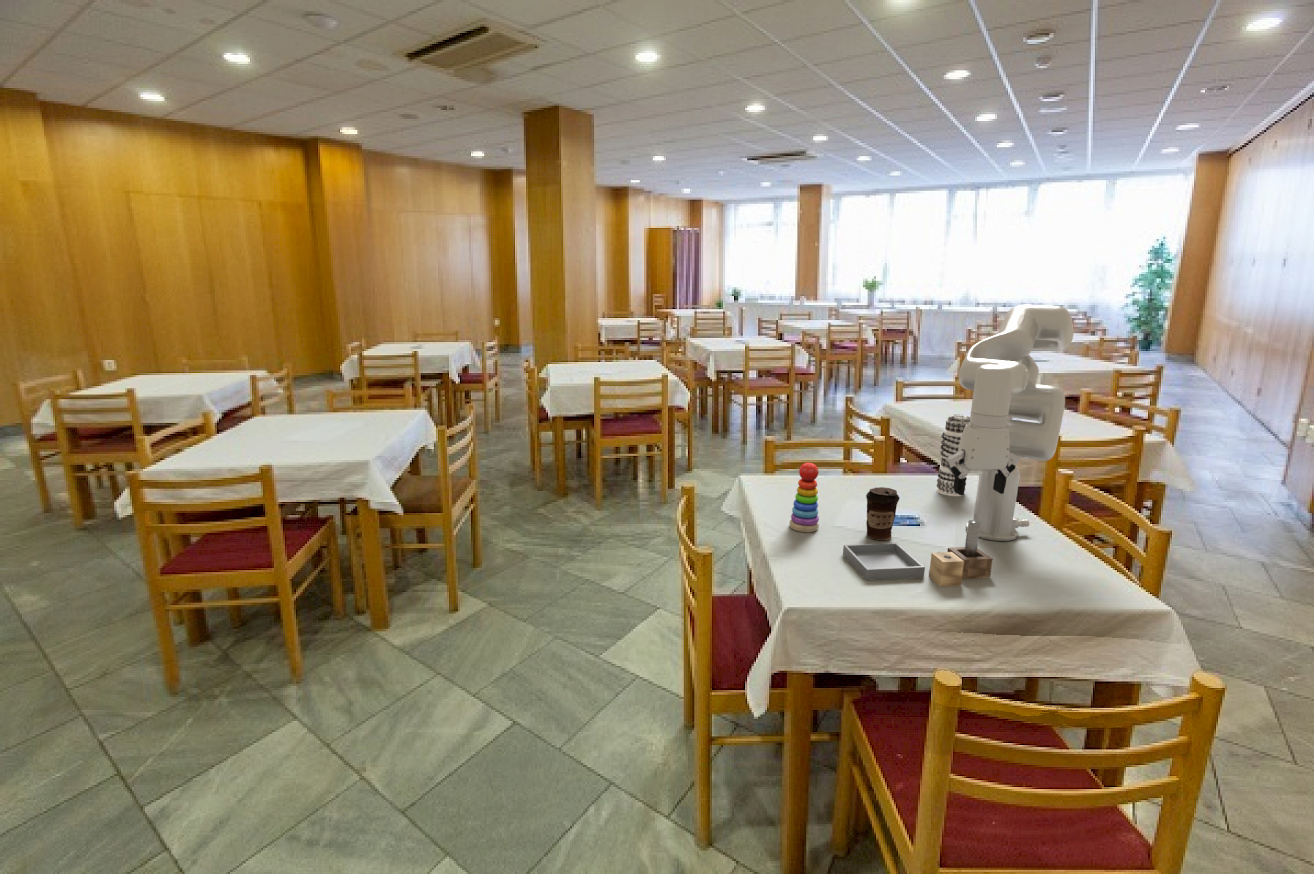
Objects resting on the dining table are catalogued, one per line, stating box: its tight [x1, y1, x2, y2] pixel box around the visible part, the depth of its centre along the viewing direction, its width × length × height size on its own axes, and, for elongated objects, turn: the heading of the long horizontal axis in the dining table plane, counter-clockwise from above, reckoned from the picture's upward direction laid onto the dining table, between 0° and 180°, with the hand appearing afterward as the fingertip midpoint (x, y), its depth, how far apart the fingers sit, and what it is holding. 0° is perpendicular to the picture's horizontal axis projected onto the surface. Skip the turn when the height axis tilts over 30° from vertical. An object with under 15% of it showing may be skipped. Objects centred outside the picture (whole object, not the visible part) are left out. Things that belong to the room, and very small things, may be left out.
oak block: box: [928, 551, 964, 587], centre depth 152 cm, size 5×5×6 cm
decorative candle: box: [935, 414, 970, 497], centre depth 211 cm, size 9×9×25 cm
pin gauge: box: [964, 519, 981, 557], centre depth 156 cm, size 3×3×12 cm
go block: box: [946, 546, 994, 580], centre depth 157 cm, size 7×7×5 cm
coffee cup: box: [865, 486, 900, 541], centre depth 176 cm, size 9×8×13 cm
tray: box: [842, 542, 926, 581], centre depth 160 cm, size 14×14×3 cm
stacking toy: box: [789, 462, 820, 533], centre depth 181 cm, size 8×8×19 cm
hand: (978, 492), depth 153 cm, fingers open, 9 cm apart
